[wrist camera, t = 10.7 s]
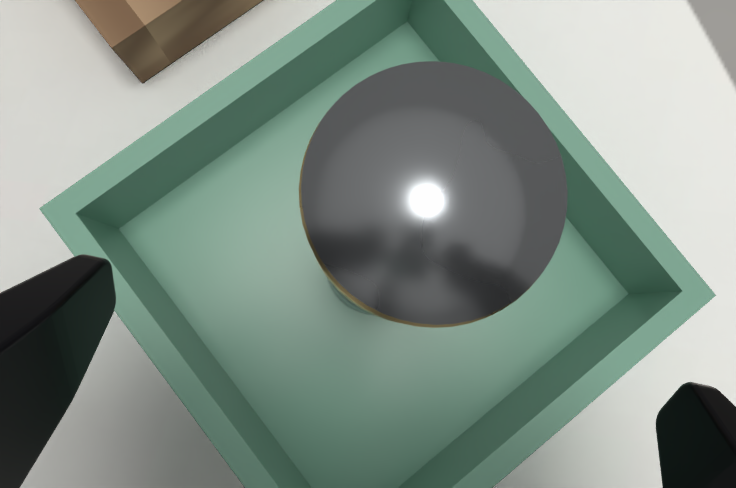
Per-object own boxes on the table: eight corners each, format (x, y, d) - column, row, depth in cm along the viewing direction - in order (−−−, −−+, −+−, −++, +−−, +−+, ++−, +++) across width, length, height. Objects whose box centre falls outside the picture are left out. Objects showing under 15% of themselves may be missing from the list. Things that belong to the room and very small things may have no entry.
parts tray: (341, 557, 20) (341, 617, 16) (95, 227, 21) (39, 208, 17) (648, 297, 22) (716, 295, 18) (408, 3, 23) (422, -61, 19)
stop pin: (347, 333, 21) (358, 372, 8) (307, 233, 21) (257, 111, 8) (446, 293, 21) (614, 266, 8) (406, 195, 21) (505, 21, 9)
